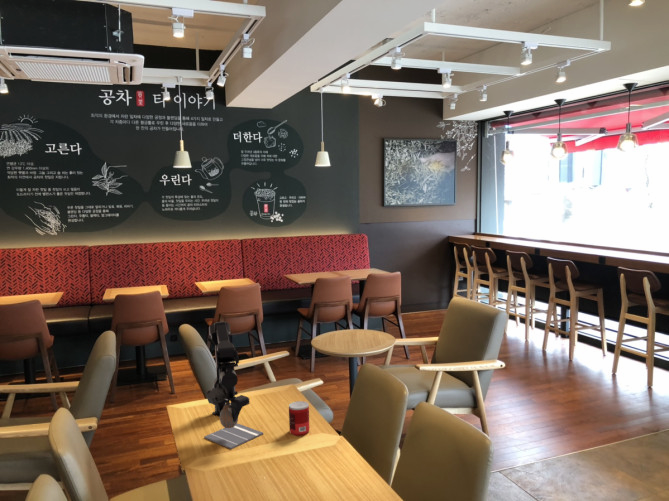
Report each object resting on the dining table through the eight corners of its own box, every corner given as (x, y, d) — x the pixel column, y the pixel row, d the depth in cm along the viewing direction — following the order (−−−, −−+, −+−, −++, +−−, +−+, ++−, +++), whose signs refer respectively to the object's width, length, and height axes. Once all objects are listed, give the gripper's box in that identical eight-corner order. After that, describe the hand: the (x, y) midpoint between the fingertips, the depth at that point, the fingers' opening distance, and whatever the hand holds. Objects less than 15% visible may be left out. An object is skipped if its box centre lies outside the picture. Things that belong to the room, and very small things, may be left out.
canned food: (312, 429, 208) (312, 402, 207) (303, 437, 201) (302, 409, 200) (296, 426, 211) (295, 399, 211) (286, 434, 204) (285, 406, 203)
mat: (204, 438, 203) (204, 436, 203) (236, 424, 215) (236, 422, 215) (231, 449, 193) (231, 447, 192) (263, 434, 205) (263, 432, 205)
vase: (241, 422, 203) (239, 400, 203) (235, 429, 197) (233, 406, 196) (223, 423, 204) (222, 400, 204) (217, 430, 197) (216, 407, 197)
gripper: (194, 380, 199) (196, 420, 200) (225, 390, 187) (227, 432, 188) (218, 372, 207) (219, 411, 209) (249, 382, 195) (251, 422, 197)
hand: (228, 419), depth 200 cm, fingers closed on vase, 7 cm apart
